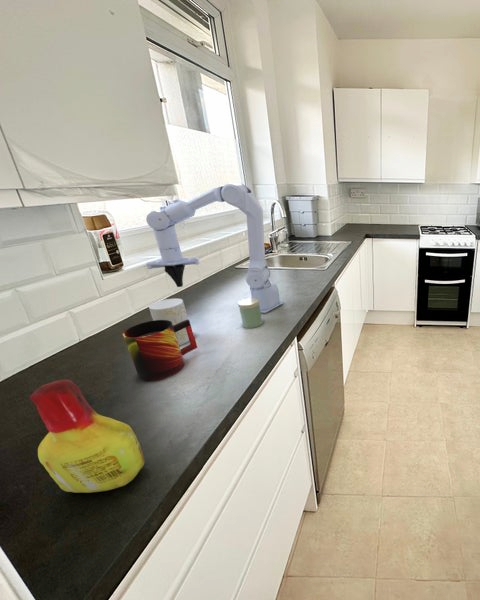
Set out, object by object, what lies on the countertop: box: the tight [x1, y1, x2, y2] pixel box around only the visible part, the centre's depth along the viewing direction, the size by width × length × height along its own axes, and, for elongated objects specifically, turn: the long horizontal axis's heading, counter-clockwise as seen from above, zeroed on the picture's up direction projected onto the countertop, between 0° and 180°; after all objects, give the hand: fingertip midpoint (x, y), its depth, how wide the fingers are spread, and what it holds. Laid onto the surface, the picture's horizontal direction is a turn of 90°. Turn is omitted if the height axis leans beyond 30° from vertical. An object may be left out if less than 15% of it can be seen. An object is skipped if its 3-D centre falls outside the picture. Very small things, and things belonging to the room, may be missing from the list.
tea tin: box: [237, 297, 264, 329], centre depth 103 cm, size 6×6×8 cm
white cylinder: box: [148, 297, 190, 346], centre depth 92 cm, size 8×8×12 cm
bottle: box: [29, 379, 145, 494], centre depth 47 cm, size 12×6×20 cm, turn 100°
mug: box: [122, 319, 198, 382], centre depth 80 cm, size 10×14×12 cm
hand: (180, 286), depth 109 cm, fingers closed
